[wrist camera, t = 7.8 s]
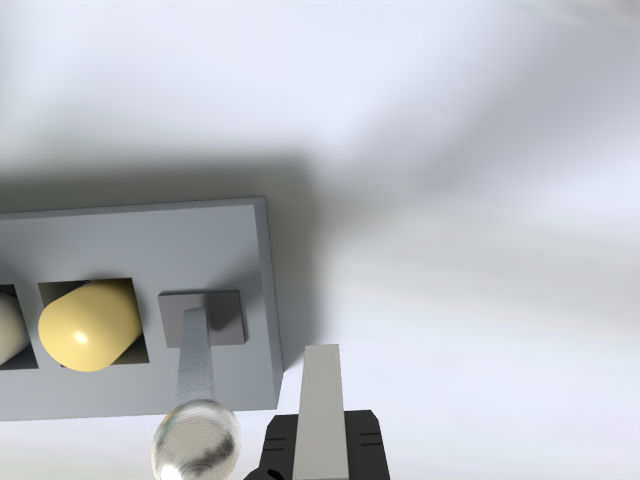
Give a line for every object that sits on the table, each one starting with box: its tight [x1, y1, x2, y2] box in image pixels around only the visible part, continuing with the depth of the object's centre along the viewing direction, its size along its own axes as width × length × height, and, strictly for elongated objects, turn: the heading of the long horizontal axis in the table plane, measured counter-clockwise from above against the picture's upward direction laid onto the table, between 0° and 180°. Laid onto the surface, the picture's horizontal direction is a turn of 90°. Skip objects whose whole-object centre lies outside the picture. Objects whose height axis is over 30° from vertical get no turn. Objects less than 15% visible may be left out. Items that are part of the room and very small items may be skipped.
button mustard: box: [38, 277, 143, 372], centre depth 23 cm, size 5×5×4 cm
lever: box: [150, 306, 241, 480], centre depth 16 cm, size 3×3×11 cm
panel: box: [0, 196, 284, 422], centre depth 24 cm, size 28×14×4 cm, turn 94°
